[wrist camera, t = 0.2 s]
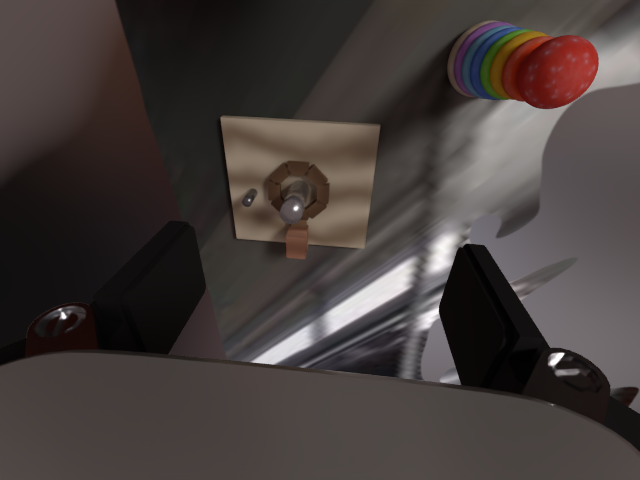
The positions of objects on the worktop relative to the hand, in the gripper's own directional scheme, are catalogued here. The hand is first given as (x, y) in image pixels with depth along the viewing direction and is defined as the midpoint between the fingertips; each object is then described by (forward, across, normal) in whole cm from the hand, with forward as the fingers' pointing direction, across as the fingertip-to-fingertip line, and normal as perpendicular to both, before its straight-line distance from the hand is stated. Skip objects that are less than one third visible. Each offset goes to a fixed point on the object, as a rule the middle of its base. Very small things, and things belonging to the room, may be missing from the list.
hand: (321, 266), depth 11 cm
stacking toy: (+37, -16, -5) cm, 40 cm away
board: (+37, +6, +13) cm, 39 cm away
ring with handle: (+35, +6, +15) cm, 39 cm away
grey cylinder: (+36, +9, +13) cm, 39 cm away
